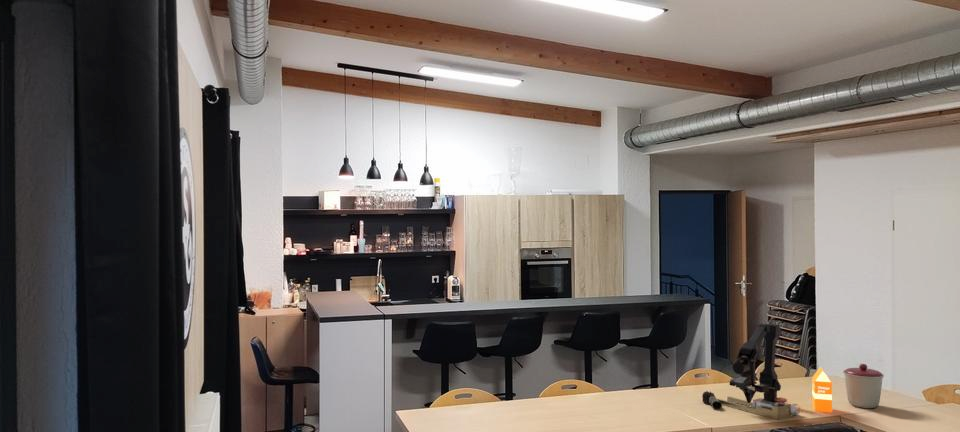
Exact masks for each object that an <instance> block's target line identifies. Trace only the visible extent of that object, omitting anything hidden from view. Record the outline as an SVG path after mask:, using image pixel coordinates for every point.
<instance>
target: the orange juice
mask: <svg viewBox="0 0 960 432" xmlns="http://www.w3.org/2000/svg"><path fill="white" fill-rule="evenodd" d="M811 380H812V384H811V385H812V386H811V387H812V390H811V391H812V396H811V397H812V399H811V400H812V408H813V410H814V411H815V412H822V413H833V382H832V381H831V379H830V378H829V377H828V376H827V374H826V373H825V372H824V369H822V367H821V366H820V367H819V368H818V370H817V371H816V372H815V374H814V375H813V376H812V377H811Z"/></svg>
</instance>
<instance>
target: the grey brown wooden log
mask: <svg viewBox="0 0 960 432" xmlns="http://www.w3.org/2000/svg"><path fill="white" fill-rule="evenodd" d="M718 399H719V398H717V397H716V395H715V393H714V392H712V391H708V390H706V391H704V392H703V393H702V403H704V404H707V405H711V407H712V408H713V409H714V410H721V409H722V408H723V405H722V404H721V402H720V401H719V400H718Z"/></svg>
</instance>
